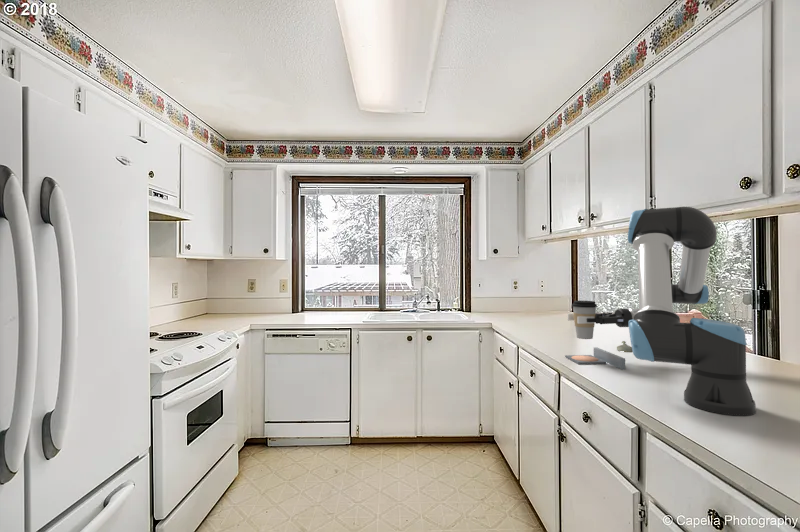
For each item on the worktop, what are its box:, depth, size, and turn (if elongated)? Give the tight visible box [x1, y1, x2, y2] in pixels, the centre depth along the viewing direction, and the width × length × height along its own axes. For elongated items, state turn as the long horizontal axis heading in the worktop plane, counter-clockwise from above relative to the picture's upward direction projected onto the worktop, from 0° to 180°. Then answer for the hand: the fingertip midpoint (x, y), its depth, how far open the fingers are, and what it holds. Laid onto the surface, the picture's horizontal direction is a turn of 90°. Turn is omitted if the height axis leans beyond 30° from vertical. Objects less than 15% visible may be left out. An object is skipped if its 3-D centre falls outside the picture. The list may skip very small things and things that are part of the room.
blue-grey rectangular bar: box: [593, 347, 626, 370], centre depth 153 cm, size 20×2×4 cm, turn 1°
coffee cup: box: [571, 300, 598, 340], centre depth 157 cm, size 9×9×15 cm
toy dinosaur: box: [616, 340, 633, 353], centre depth 181 cm, size 22×3×7 cm
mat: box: [564, 354, 607, 365], centre depth 157 cm, size 12×11×1 cm
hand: (572, 318), depth 157 cm, fingers closed on coffee cup, 8 cm apart
